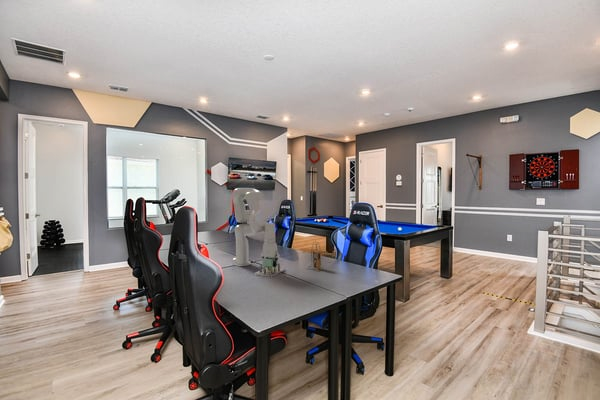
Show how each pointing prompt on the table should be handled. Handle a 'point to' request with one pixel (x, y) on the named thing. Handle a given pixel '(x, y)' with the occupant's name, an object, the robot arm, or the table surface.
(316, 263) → the multimeter
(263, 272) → the chassis
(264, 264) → the module
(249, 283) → the table surface
